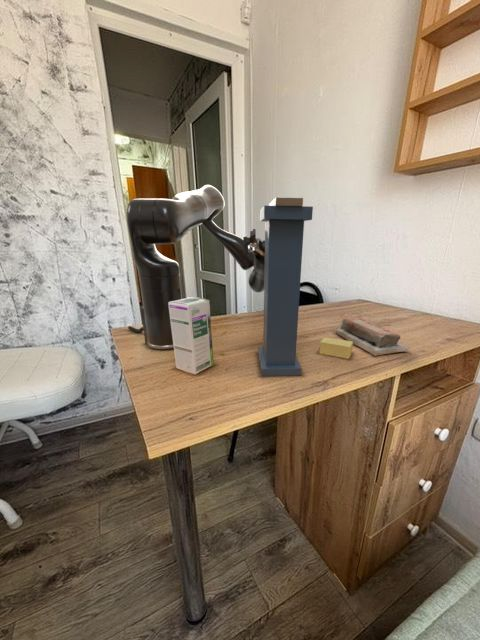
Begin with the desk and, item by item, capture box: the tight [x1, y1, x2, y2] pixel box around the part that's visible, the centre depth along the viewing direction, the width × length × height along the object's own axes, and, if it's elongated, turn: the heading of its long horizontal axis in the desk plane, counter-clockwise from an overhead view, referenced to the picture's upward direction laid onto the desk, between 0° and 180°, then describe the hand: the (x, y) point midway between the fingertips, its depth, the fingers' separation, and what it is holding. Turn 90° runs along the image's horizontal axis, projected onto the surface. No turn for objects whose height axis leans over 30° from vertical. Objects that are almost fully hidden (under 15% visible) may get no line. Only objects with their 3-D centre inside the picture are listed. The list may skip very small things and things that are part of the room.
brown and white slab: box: [268, 196, 304, 206], centre depth 58 cm, size 4×24×2 cm, turn 4°
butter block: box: [318, 336, 354, 360], centre depth 70 cm, size 7×4×3 cm, turn 64°
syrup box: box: [168, 296, 215, 376], centre depth 60 cm, size 6×6×14 cm
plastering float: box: [335, 316, 409, 357], centre depth 78 cm, size 18×5×10 cm
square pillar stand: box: [257, 205, 314, 377], centre depth 59 cm, size 8×12×31 cm, turn 4°
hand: (270, 232), depth 77 cm, fingers open, 8 cm apart
